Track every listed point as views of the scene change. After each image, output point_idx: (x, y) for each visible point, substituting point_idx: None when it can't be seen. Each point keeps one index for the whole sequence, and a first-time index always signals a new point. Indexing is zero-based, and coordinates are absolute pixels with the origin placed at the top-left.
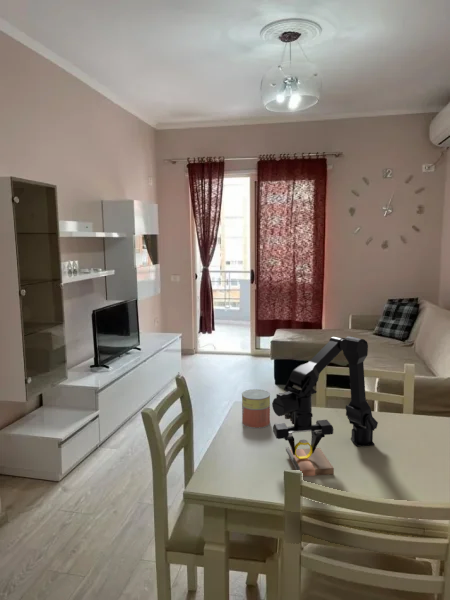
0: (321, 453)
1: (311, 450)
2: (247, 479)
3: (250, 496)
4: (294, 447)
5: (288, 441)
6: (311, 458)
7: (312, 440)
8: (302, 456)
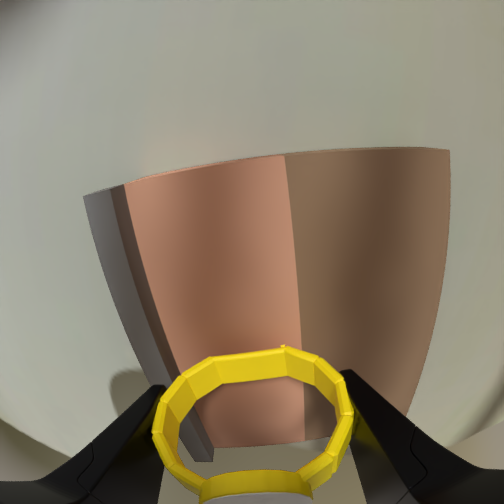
0: (432, 261)
1: (337, 416)
2: (26, 394)
3: (74, 455)
4: (157, 489)
5: (75, 465)
6: (325, 345)
7: (381, 483)
8: (247, 362)
